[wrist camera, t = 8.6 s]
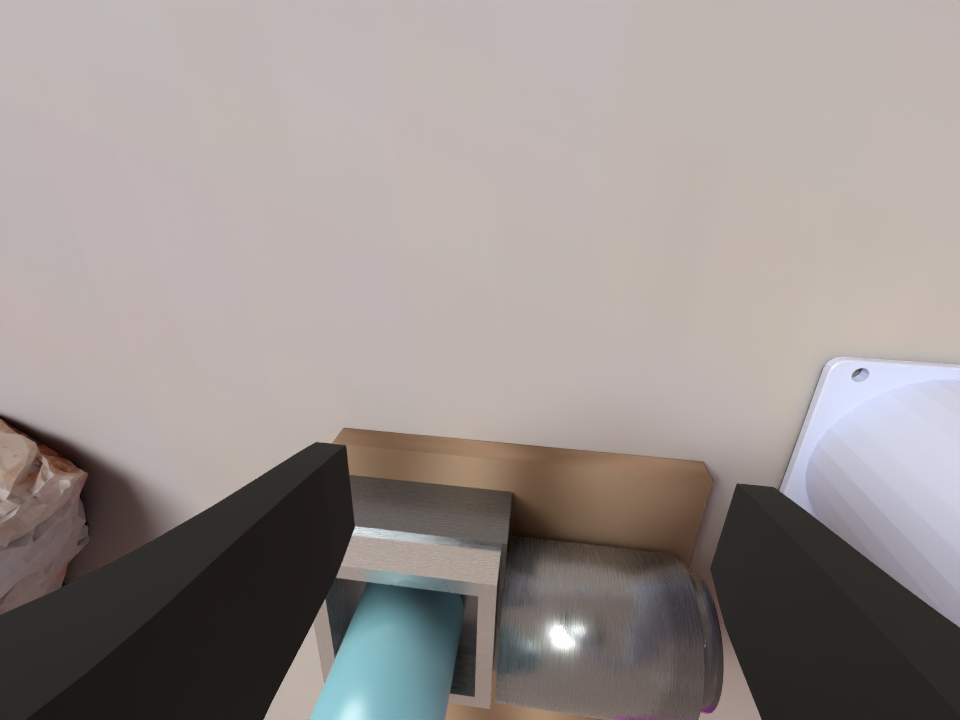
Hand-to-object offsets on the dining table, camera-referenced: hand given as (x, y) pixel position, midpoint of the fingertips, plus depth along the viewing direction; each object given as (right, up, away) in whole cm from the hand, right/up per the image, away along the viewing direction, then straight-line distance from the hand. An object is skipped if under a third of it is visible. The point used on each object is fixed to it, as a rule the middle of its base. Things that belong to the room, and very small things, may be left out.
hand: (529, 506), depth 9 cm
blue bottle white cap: (-4, -7, +9) cm, 12 cm away
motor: (0, -6, +12) cm, 13 cm away
